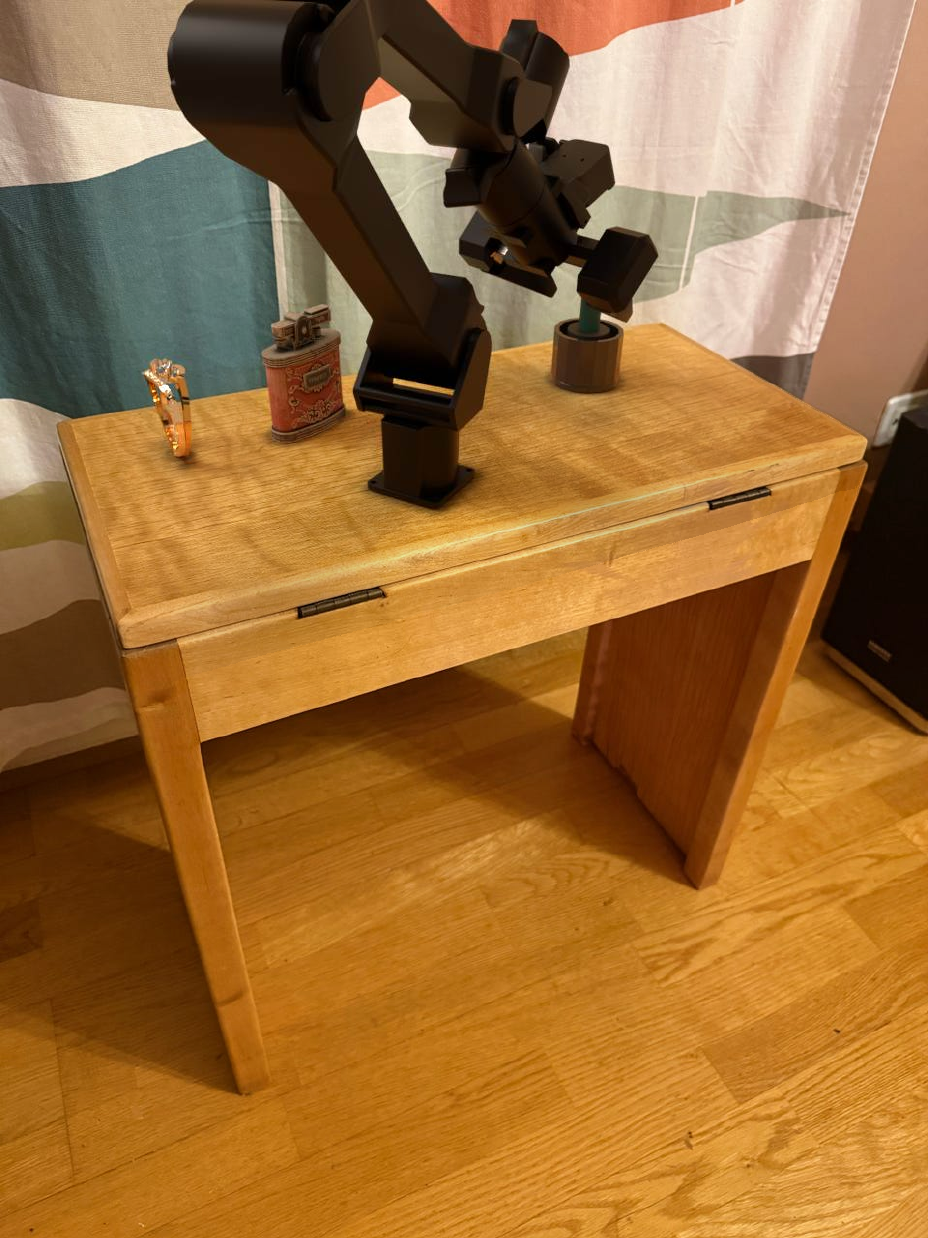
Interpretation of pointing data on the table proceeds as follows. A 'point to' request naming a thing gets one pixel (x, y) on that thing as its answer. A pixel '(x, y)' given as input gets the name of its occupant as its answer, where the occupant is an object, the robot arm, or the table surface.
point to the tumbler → (586, 359)
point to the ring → (171, 403)
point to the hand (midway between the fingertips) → (589, 305)
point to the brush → (588, 325)
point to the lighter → (304, 375)
